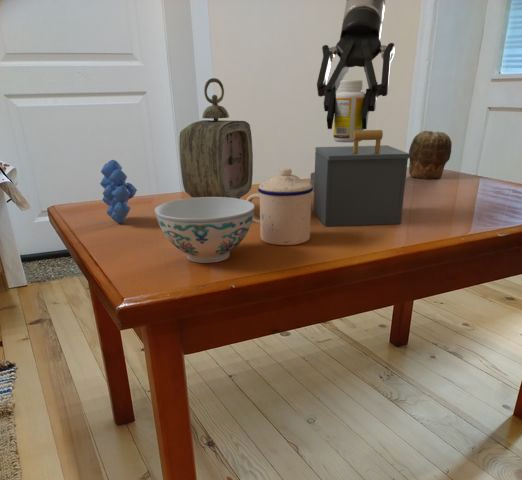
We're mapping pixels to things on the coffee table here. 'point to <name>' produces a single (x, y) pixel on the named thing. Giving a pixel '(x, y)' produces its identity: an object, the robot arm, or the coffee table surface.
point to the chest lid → (362, 149)
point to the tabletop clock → (216, 153)
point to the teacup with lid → (284, 209)
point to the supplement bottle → (348, 110)
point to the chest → (359, 191)
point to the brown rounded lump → (429, 154)
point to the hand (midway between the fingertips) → (346, 123)
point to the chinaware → (205, 225)
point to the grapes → (116, 191)
